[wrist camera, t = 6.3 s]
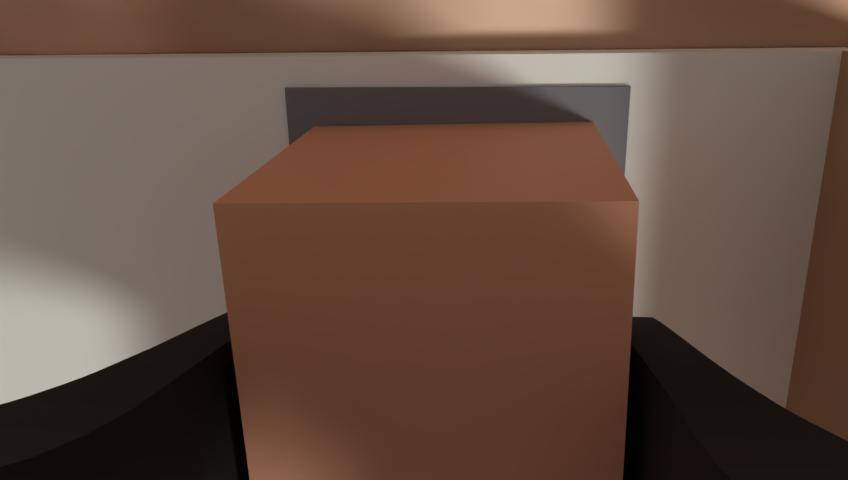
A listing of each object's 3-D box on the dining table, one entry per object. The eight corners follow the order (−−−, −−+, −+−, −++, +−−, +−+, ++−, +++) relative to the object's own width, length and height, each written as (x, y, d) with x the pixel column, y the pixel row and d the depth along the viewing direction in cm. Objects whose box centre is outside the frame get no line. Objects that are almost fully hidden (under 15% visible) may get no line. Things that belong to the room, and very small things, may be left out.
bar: (314, 126, 12) (213, 203, 8) (593, 121, 12) (638, 201, 8) (344, 483, 15) (277, 688, 10) (579, 492, 14) (609, 711, 10)
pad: (600, 510, 14) (600, 513, 14) (318, 493, 15) (317, 496, 15) (630, 86, 12) (630, 86, 12) (286, 87, 12) (284, 88, 12)
